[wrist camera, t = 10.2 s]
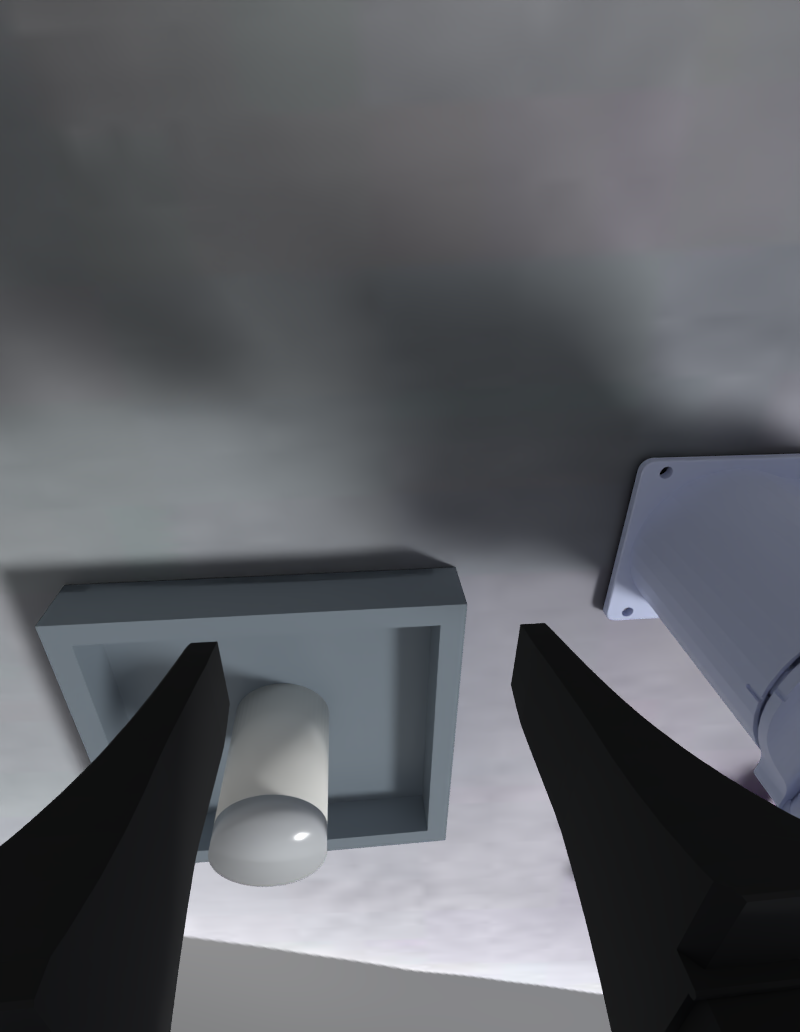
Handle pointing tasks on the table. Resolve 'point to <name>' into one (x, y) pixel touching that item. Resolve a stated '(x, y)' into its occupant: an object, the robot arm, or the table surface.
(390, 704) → the tray
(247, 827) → the cylinder
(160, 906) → the robot arm
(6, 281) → the table surface
